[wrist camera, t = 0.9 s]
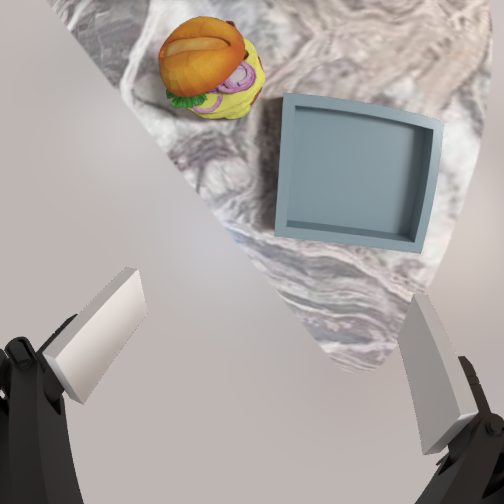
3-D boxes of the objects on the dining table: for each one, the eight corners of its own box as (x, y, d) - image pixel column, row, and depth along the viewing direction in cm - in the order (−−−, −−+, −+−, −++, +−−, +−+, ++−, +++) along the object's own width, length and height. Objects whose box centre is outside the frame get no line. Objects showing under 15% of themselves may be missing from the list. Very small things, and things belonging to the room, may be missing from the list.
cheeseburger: (205, 140, 31) (154, 124, 22) (177, 72, 30) (128, 44, 21) (285, 101, 28) (261, 64, 18) (248, 33, 27) (215, -11, 17)
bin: (285, 96, 28) (283, 92, 25) (432, 121, 25) (443, 121, 23) (276, 226, 34) (274, 236, 31) (412, 243, 32) (420, 253, 29)
